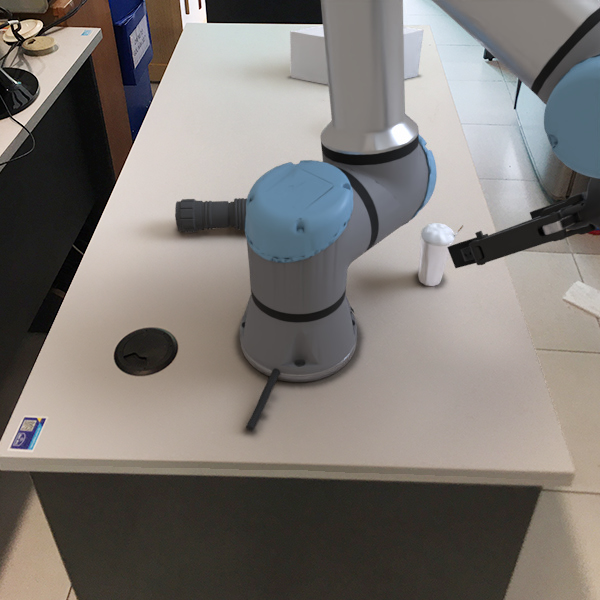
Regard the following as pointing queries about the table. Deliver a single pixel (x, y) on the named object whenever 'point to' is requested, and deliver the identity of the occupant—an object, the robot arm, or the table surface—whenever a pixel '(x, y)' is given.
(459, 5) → the robot arm
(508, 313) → the table surface
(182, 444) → the table surface
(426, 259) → the milkshake
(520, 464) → the table surface
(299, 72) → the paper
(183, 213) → the flashlight
